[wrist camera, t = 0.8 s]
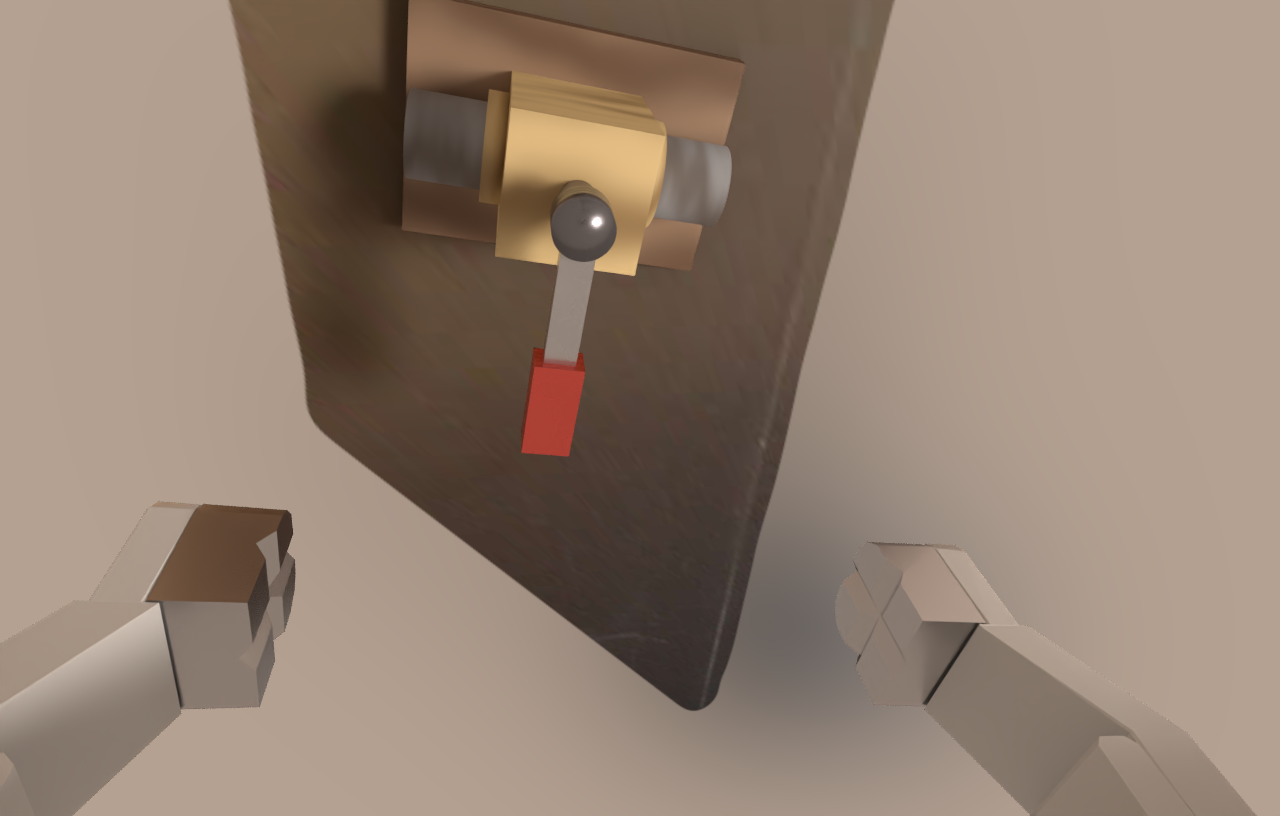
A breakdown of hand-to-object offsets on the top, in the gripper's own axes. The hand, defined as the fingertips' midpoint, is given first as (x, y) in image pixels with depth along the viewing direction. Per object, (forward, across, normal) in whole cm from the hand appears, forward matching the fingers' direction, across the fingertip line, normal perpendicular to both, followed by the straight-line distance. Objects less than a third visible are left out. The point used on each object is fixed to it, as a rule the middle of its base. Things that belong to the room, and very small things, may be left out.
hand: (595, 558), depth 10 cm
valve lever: (+29, -3, +10) cm, 31 cm away
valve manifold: (+42, -3, +4) cm, 42 cm away
